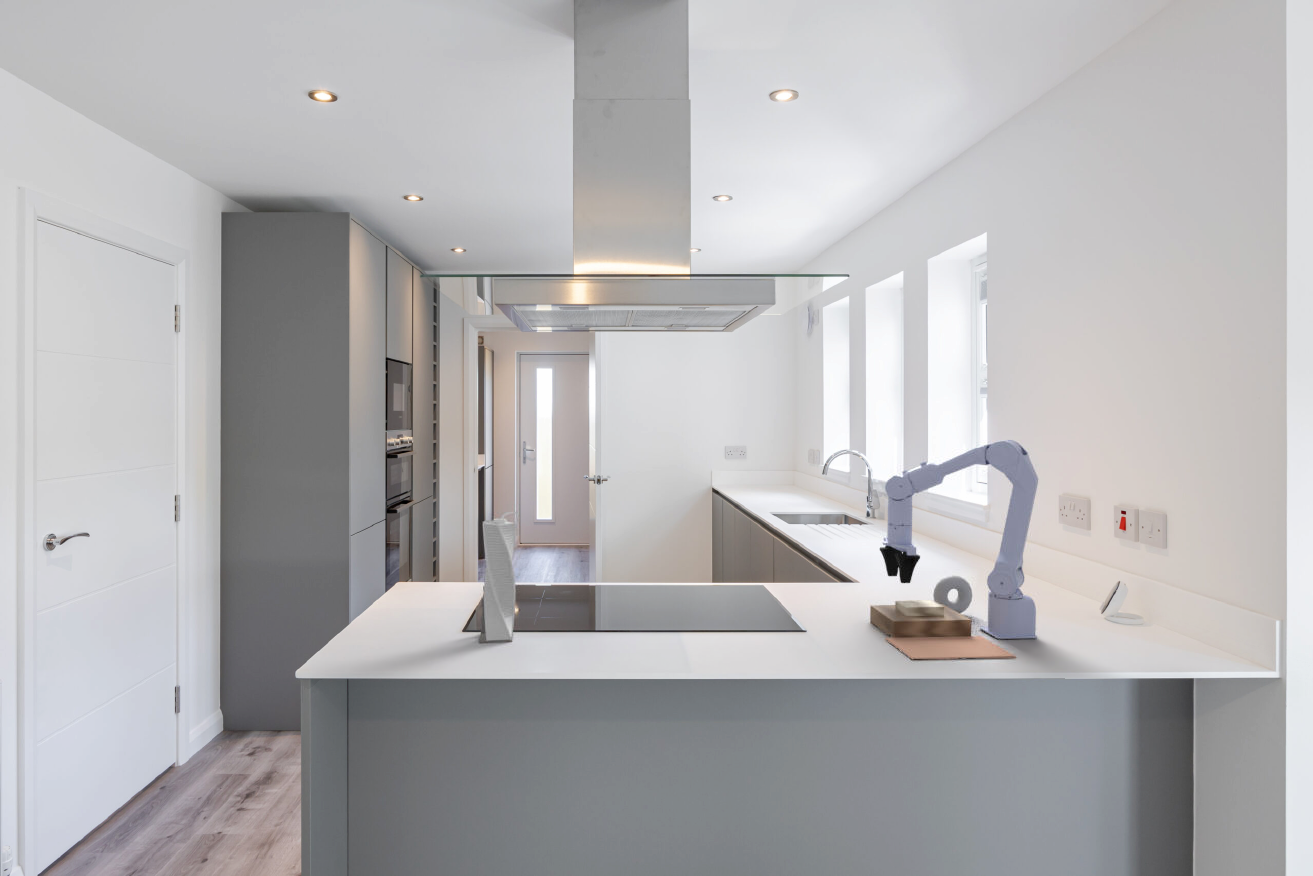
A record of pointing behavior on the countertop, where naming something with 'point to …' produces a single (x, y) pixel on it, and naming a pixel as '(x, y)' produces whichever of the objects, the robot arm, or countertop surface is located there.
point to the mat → (949, 647)
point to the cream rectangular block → (919, 608)
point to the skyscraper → (498, 580)
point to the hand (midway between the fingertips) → (898, 579)
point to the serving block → (919, 623)
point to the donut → (959, 585)
